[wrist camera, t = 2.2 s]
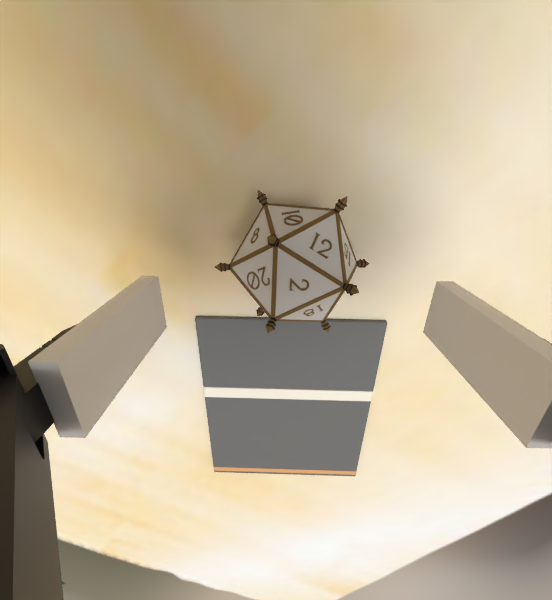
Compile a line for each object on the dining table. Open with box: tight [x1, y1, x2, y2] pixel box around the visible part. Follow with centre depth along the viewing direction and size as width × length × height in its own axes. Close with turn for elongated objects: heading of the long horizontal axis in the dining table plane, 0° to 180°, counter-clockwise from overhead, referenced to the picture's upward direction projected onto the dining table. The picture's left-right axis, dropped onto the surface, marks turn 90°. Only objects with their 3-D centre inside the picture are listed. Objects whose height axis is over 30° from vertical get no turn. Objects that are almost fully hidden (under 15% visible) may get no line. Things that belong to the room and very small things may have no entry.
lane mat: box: [195, 316, 387, 476], centre depth 28 cm, size 20×16×1 cm
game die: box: [215, 190, 369, 334], centre depth 18 cm, size 9×8×10 cm
